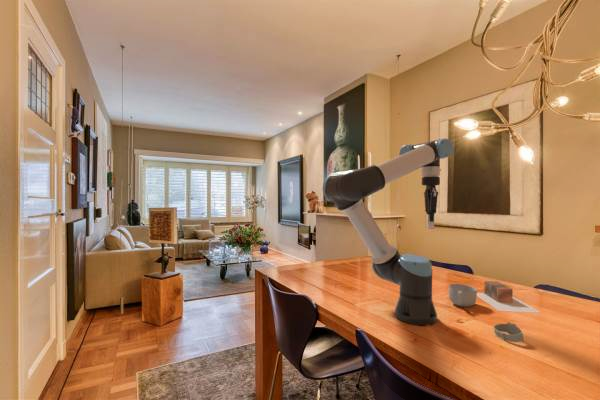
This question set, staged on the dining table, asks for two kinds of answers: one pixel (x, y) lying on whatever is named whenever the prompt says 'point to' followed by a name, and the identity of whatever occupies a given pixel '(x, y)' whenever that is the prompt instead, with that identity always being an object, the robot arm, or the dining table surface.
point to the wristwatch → (511, 329)
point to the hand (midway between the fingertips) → (430, 228)
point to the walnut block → (499, 292)
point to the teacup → (462, 294)
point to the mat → (508, 305)
